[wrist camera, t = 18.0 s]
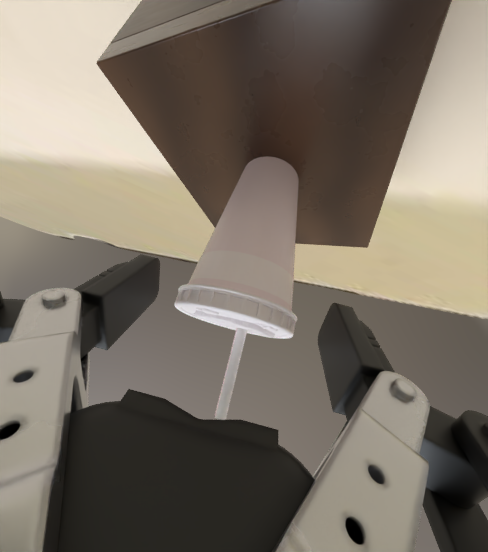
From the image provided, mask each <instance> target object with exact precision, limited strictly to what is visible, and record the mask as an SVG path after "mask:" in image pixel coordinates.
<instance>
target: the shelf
mask: <svg viewBox="0 0 488 552" xmlns="http://www.w3.org/2000/svg"><path fill="white" fill-rule="evenodd" d="M451 1H452V0H142V1H141V2H140V4H139V5H138V6H137V8H136V9H135V10H134V12H133V13H132V14H131V16H130V17H129V19H128V20H127V21H126V23H125V24H124V25H123V27H122V28H121V29H120V31H119V32H118V33H117V35H116V36H115V37H114V39H113V40H112V42H111V44H110V45H109V46H108V47H107V49H106V50H105V51H104V53H103V54H102V56H101V57H100V58H99V60H98V61H97V65H98V66H99V68H100V69H101V71H102V72H103V73H104V75H105V76H106V77H107V79H108V80H109V82H110V83H111V84H112V86H113V87H114V88H115V90H116V91H117V93H118V94H119V95H120V97H121V98H122V100H123V101H124V102H125V104H126V105H127V106H128V108H129V109H130V111H131V112H132V113H133V115H134V116H135V118H136V119H137V120H138V122H139V123H140V124H141V126H142V127H143V129H144V130H145V131H146V133H147V134H148V136H149V137H150V138H151V140H152V141H153V142H154V144H155V145H156V147H157V148H158V149H159V151H160V152H161V153H162V155H163V156H164V158H165V159H166V160H167V162H168V163H169V165H170V166H171V167H172V169H173V170H174V171H175V173H176V174H177V176H178V177H179V178H180V180H181V181H182V183H183V184H184V185H185V187H186V188H187V189H188V191H189V192H190V194H191V195H192V196H193V198H194V199H195V201H196V202H197V203H198V205H199V206H200V207H201V209H202V210H203V212H204V213H205V214H206V216H207V217H208V218H209V220H210V221H211V223H212V224H213V225H214V227H215V228H216V226H217V224H218V222H219V219H220V217H221V215H222V213H223V211H224V209H225V207H226V205H227V203H228V201H229V199H230V197H231V195H232V193H233V191H234V189H235V187H236V185H237V183H238V181H239V179H240V177H241V175H242V173H243V171H244V169H245V167H246V165H247V164H248V163H249V162H250V161H252V160H254V159H256V158H259V157H266V156H268V157H276V158H279V159H282V160H284V161H286V162H287V163H289V164H290V165H291V166H292V167H293V168H294V169H295V171H296V173H297V175H298V179H299V183H298V202H297V221H296V240H295V243H297V244H315V245H332V246H349V247H366V248H367V247H368V245H369V242H370V239H371V236H372V233H373V230H374V227H375V224H376V221H377V218H378V216H379V213H380V210H381V207H382V204H383V201H384V198H385V195H386V192H387V189H388V186H389V183H390V180H391V177H392V174H393V171H394V168H395V166H396V163H397V160H398V157H399V154H400V151H401V148H402V145H403V142H404V139H405V136H406V133H407V130H408V127H409V124H410V121H411V118H412V116H413V113H414V110H415V107H416V104H417V101H418V98H419V95H420V92H421V89H422V86H423V83H424V80H425V77H426V74H427V71H428V68H429V66H430V63H431V60H432V57H433V54H434V51H435V48H436V45H437V42H438V39H439V36H440V33H441V30H442V27H443V24H444V21H445V18H446V16H447V13H448V10H449V7H450V4H451Z"/></svg>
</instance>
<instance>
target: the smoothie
mask: <svg viewBox="0 0 488 552" xmlns="http://www.w3.org/2000/svg"><path fill="white" fill-rule="evenodd" d="M298 183H299V179H298V175H297V173H296V171H295V169H294V168H293V167H292V166H291V165H290V164H289V163H287V162H286V161H284V160H282V159H279V158H276V157H268V156H266V157H259V158H256V159H254V160H252V161H250V162H249V163H248V164H247V165H246V167H245V169H244V171H243V173H242V175H241V177H240V179H239V181H238V183H237V185H236V187H235V189H234V191H233V193H232V195H231V197H230V199H229V201H228V203H227V205H226V207H225V209H224V211H223V213H222V215H221V217H220V219H219V222H218V224H217V226H216V228H215V230H214V232H213V234H212V236H211V238H210V240H209V242H208V244H207V246H206V248H205V250H204V252H203V254H202V256H201V257H200V260H199V262H198V264H197V266H196V268H195V270H194V272H193V275H192V277H191V279H190V281H189V282H188V284H186V285H181V286H180V287H179V289H178V291H179V293H178V296H177V299H176V302H175V307H176V308H177V309H178V310H180V311H181V312H183V313H185V314H187V315H189V316H192V317H194V318H197V319H200V320H203V321H206V322H209V323H212V324H215V325H219V326H222V327H226V328H229V329H233V330H236V333H235V337H234V341H233V345H232V349H231V353H230V357H229V361H228V365H227V369H226V373H225V377H224V381H223V385H222V389H221V392H220V397H219V401H218V404H217V409H216V412H215V416H214V417H216V418H217V419H220V420H226V417H227V412H228V408H229V404H230V400H231V395H232V392H233V387H234V383H235V379H236V375H237V371H238V366H239V362H240V357H241V354H242V350H243V345H244V341H245V337H246V333H249V334H254V335H259V336H265V337H270V338H282V339H286V338H291V337H292V336H293V333H294V327H295V322H296V321H297V317H296V315H295V314H294V313H293V312H292V296H293V282H294V281H293V277H294V258H295V240H296V221H297V202H298Z"/></svg>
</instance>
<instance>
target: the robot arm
mask: <svg viewBox="0 0 488 552" xmlns="http://www.w3.org/2000/svg"><path fill="white" fill-rule="evenodd" d="M159 274H160V261H159V259H158V258H154V257H150V256H146V255H139V256H138V257H136V258H134V259H133V260H131V261H129V262H125V263H121V264H117V265H115V266H113V267H111V268H109V269H108V270H107V271H104V272H102V273H101V274H99V276H96V277H94V278H92V279H91V280H89V281H87V282H85V283H84V284H82V285H80V286H78V287H77V288H75V289H69V288H53V289H47V290H43V291H40V292H37V293H35V294H33V295H31V296H30V297H28V298H27V299H26V300H17V299H3V298H2V295H1V292H0V552H414V550H415V544H416V538H417V533H418V527H419V522H420V516H421V511H422V505H423V507H424V510H425V513H426V515H427V518H428V520H429V523H430V526H431V528H432V531H433V533H434V536H435V539H436V541H437V544H438V546H439V549H440V551H441V552H488V520H487V518H486V516H485V515H484V513H483V511H482V509H481V508H480V506H479V504H478V503H479V502H481V501H482V500H484V499H485V498H487V497H488V416H486V415H484V414H482V413H479V412H476V411H469V410H468V411H465V412H464V413H463V414H462V415H461V416H460V417H459V418H458V419H455V418H453V417H451V416H449V415H447V414H445V413H443V412H441V411H439V410H437V409H435V408H433V407H431V406H430V404H429V401H428V399H427V397H426V396H425V395H424V393H423V392H422V391H421V390H420V389H419V388H418V387H417V386H416V385H415V384H414V383H412V382H411V381H410V380H408V379H407V378H405V377H403V376H401V375H399V374H397V373H395V372H394V370H393V368H392V367H391V365H390V363H389V361H388V359H387V358H386V356H385V354H384V352H383V351H382V349H381V348H380V345H379V344H378V342H377V341H376V339H375V337H374V335H373V333H372V331H371V330H370V329H369V328H368V327H367V326H366V325H365V324H364V323H363V322H362V321H360V320H359V319H358V318H357V316H356V314H355V312H354V310H353V308H352V307H349V306H345V305H341V304H337V303H333V304H332V305H331V306H330V309H329V311H328V313H327V315H326V318H325V320H324V322H323V324H322V326H321V329H320V331H319V335H318V346H319V350H320V355H321V359H322V364H323V369H324V373H325V378H326V382H327V387H328V391H329V396H330V400H331V405H332V409H333V412H336V413H339V414H343V415H346V418H347V422H346V424H345V425H344V427H343V428H342V430H341V431H340V433H339V435H338V436H337V438H336V440H335V441H334V443H333V445H332V446H331V447H330V449H329V451H328V452H327V454H326V456H325V457H324V459H323V460H322V462H321V464H320V465H319V467H318V468H317V470H316V472H315V473H314V475H313V476H312V475H311V474H310V473H309V471H308V470H307V469H306V468H305V467H304V466H303V464H302V463H301V462H300V461H299V460H298V459H297V458H295V457H294V456H293V455H292V454H291V453H290V452H288V451H287V450H286V449H284V448H283V447H281V446H280V445H278V430H276V429H272V428H268V427H265V426H262V425H258V424H254V423H250V422H247V421H243V420H201V419H198V418H195V417H193V416H192V415H191V414H189V413H187V412H186V411H184V410H182V409H181V408H179V407H177V406H176V405H174V404H172V403H171V402H169V401H167V400H166V399H163V398H159V397H156V396H152V395H149V394H145V393H141V392H137V391H134V390H130V389H129V390H128V391H127V392H126V394H125V395H124V397H123V398H122V400H121V401H115V402H105V403H100V404H96V405H92V406H89V407H88V391H89V362H90V357H89V351H90V350H91V349H92V348H94V347H97V348H101V349H105V350H108V349H109V348H110V347H111V346H112V344H114V342H115V341H116V340H117V339H118V338H119V337H120V336H121V335H122V334H123V333H124V332H125V331H126V330H127V329H128V328H129V327H130V326H131V325H132V323H134V322H135V320H136V319H137V318H138V317H139V316H140V315H141V314H142V313H143V312H144V311H145V310H146V309H147V308H148V307H149V306H150V305H151V304H152V303H153V302H154V300H155V299H156V297H157V295H158V291H159Z"/></svg>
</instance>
